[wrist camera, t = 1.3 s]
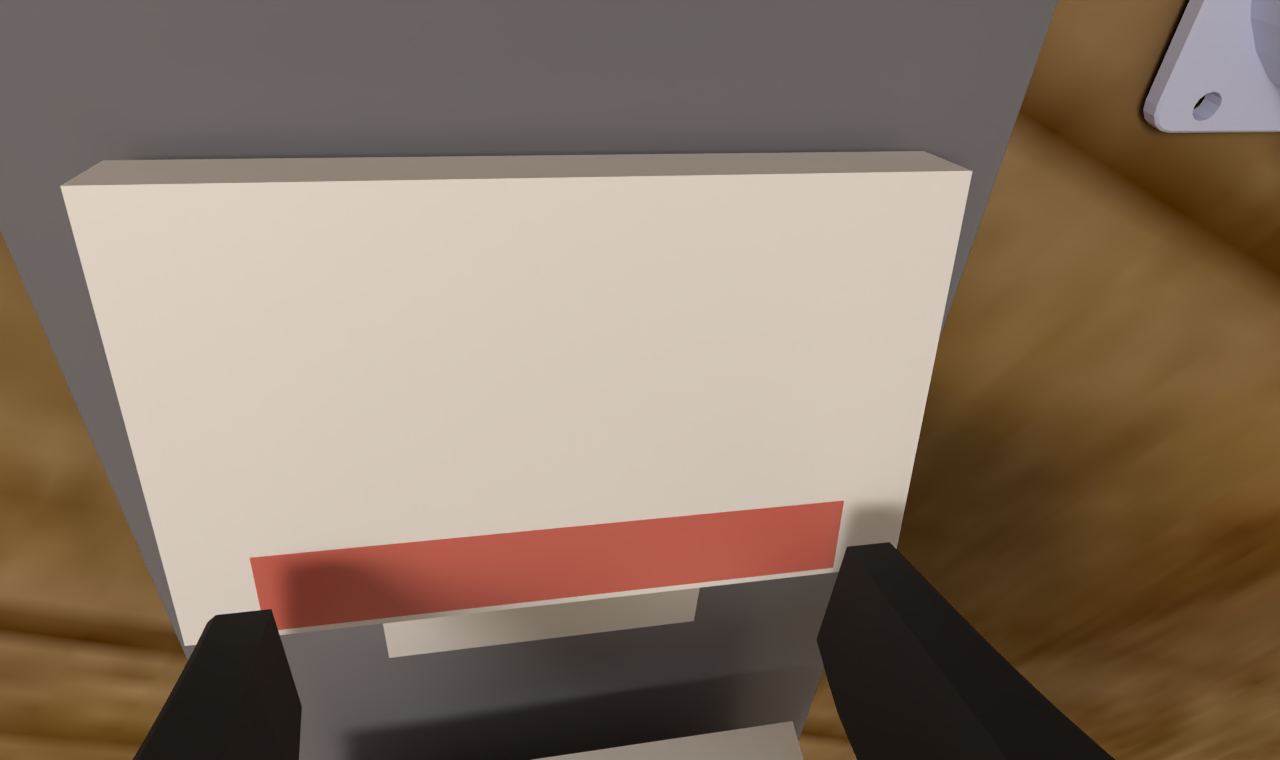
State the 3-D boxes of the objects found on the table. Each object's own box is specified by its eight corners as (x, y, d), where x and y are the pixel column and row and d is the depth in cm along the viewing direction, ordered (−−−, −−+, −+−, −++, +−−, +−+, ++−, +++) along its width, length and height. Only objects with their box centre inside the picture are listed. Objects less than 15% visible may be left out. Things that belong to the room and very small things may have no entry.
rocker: (923, 150, 11) (972, 171, 10) (859, 519, 14) (893, 566, 13) (102, 160, 9) (59, 185, 8) (206, 585, 12) (184, 647, 11)
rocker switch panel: (952, -69, 13) (1073, -14, 11) (743, 715, 27) (775, 819, 24) (-4, -111, 11) (-136, -52, 8) (302, 779, 24) (288, 902, 22)
